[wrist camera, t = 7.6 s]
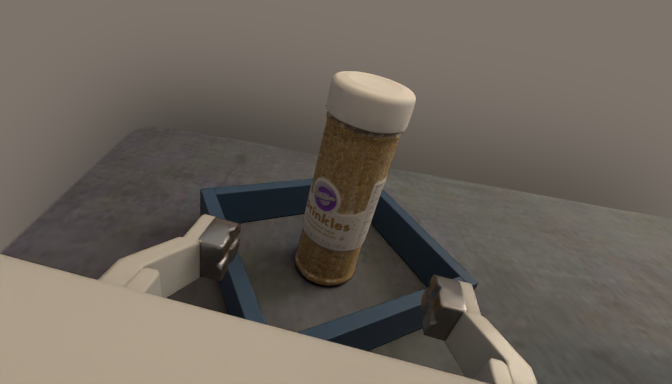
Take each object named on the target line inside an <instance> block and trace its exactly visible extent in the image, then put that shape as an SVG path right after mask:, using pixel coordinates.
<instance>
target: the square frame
mask: <svg viewBox="0 0 672 384" xmlns="http://www.w3.org/2000/svg"><path fill="white" fill-rule="evenodd" d="M312 182H313V179H305V180H293V181H282V182H271V183H260V184H249V185H238V186H226V187H215V188H205V189H201V190H200V217H201V216H202V215H204V214H207V215H210V216H214V217H218V218H222V219H225V220H229V221H232V222H236V223H242V222H248V221H255V220H262V219H269V218H276V217H283V216H289V215H296V214H303V213H305V210H306V205H307V201H308V197H309V192H310V188H311V184H312ZM371 223H372V224H373V225H374V226H375V227H376V229H377V230H378V231H379V232H380V233H381V234H382V235H383V237H384V238H385V239H386V240H387V241H388V242H389V243H390V245H391V246H392V247H393V248H394V249H395V250H396V251H397V253H398V254H399V255H400V256H401V257H402V258H403V259H404V261H405V262H406V263H407V264H408V265H409V266H410V267H411V269H412V270H413V271H414V272H415V273H416V274H417V275H418V277H419V278H420V279H421V280H422V281H423V282H424V283H425V285H426V286H427V287H430V279H431V278H432V276H433V275H437V276H441V277H445V278H449V279H453V280H457V281H462V282H466V283H470V284H471V285H472V287H473V290H474V289H475V288H476V286H477V285H478V282H477V281H476V280H475V279H474V278H473V277H472V276H471V275H470V274H469V273H468V272H467V271H466V270H465V269H464V268H463V267H462V266H461V265H460V264H459V263H458V262H457V261H456V260H455V259H454V258H453V257H452V256H451V255H450V254H449V253H448V252H447V251H445V250H444V249H443V248H442V247H441V246H440V245H439V244H438V243H437V242H436V241H435V240H434V239H433V238H432V237H431V236H430V235H429V234H428V233H427V232H426V231H425V230H424V229H423V228H422V227H421V226H420V225H419V224H418V223H417V222H416V221H415V220H414V219H413V218H412V217H411V216H410V215H409V214H408V213H407V212H406V211H404V210H403V209H402V208H401V207H400V206H399V205H398V204H397V203H396V202H395V201H394V200H393V199H392V198H391V197H390V196H389V195H388V194H387V193H386V192H385V191H384V190H383V189H382V192H381V195H380V198H379V200H378V203H377V206H376V209H375V212H374V215H373V218H372V221H371ZM219 283H220V287H221V290H222V293H223V296H224V300H225V303H226V306H227V309H228V313H229V315H231V316H235V317H239V318H243V319H247V320H250V321H254V322H258V323H262V324H266V322H265V319H264V316H263V314H262V311H261V309H260V306H259V304H258V301H257V299H256V296H255V293H254V291H253V288H252V286H251V283H250V281H249V278H248V276H247V273H246V270H245V268H244V265H243V263H242V260H241V258H240V255H239V253H238V251H237V254H236V256H235V258H234V260H233V262H231V263H228V270H227V272H226V273H225V275H224V277H223V278H222V280H221V281H219ZM425 289H426V288H425ZM425 289H422V290H419V291H416V292H413V293H411V294H408V295H405V296H402V297H399V298H396V299H393V300H390V301H387V302H384V303H382V304H379V305H376V306H373V307H370V308H367V309H364V310H361V311H358V312H355V313H353V314H350V315H347V316H344V317H341V318H338V319H335V320H332V321H329V322H327V323H324V324H321V325H318V326H315V327H312V328H309V329H306V330H303V331H300V332H298V333H300V334H304V335H307V336H311V337H315V338H319V339H323V340H326V341H330V342H334V343H338V344H342V345H345V346H349V347H353V348H357V349H360V350H364V351H368V350H371V349H373V348H376V347H378V346H380V345H383V344H385V343H387V342H390V341H392V340H394V339H397V338H399V337H401V336H404V335H406V334H408V333H411V332H413V331H415V330H418V329H420V328H422V327H423V321H422V320H423V319H424V317H425V315H424V314H423V313H422V311H421V300H422V296H423V293H424V291H425ZM266 325H267V324H266Z"/></svg>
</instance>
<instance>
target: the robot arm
mask: <svg viewBox="0 0 672 384" xmlns="http://www.w3.org/2000/svg"><path fill="white" fill-rule="evenodd" d="M240 226H241V225H240V224H239V223H236V222H232V221H229V220H225V219H222V218H218V217H214V216H210V215H207V214H204V215H202V216H201V217H200V218H199V219H198V220H197V221H196V223H195V224H194V225H193V226H192V227H191V228H190V230H189V231H188V232H187V233H186V234H185V235H184V237H183V238H182V237H177V238H175V239H172V240H169V241H167V242H164V243H161V244H158V245H156V246H153V247H150V248H148V249H145V250H142V251H140V252H137V253H134V254H131V255H129V256H126V257H123V258H121V259H119V260H118V261H117V262H116V263H115V264H114V265H113V266H112V267H111V268H110V269H109V270H107V271H106V272H105V273H104V274H103V275H102V276H101V277H100V278H99V279H98V280H95V279H91V278H88V277H84V276H80V275H76V274H72V273H69V272H65V271H61V270H57V269H54V268H50V267H46V266H42V265H38V264H35V263H31V262H27V261H23V260H20V259H16V258H13V257H9V256H6V255H2V254H0V384H537V381H536V379H535V376H534V374H533V371H532V368H531V367H530V366H529V365H528V364H527V363H526V362H525V360H524V359H523V358H522V357H521V356H520V355H519V354H518V353H517V352H516V351H515V350H514V348H513V347H512V346H511V345H510V344H509V343H508V342H507V341H506V340H505V339H504V338H503V336H502V335H501V334H500V333H499V332H498V331H497V330H496V329H495V328H494V327H493V326H492V324H491V323H490V322H489V321H488V320H487V319H486V318H485V317H482V316H481V314H480V310H479V307H478V303H477V300H476V297H475V293H474V290H473V287H472V285H471V284H470V283H466V282H462V281H457V280H453V279H449V278H445V277H441V276H437V275H433V276H432V278H431V279H430V287H428V288H426V289H425V291H424V293H423V296H422V300H421V311H422V313H423V314H424V315H425V317H424V319H423V320H422V321H423V330H424V335H426V336H430V337H433V338H437V339H440V340H443V341H445V344H446V345H447V347H448V349H449V350H450V352H451V353H452V355H453V357H454V358H455V360H456V362H457V363H458V365H459V366H460V368H461V370H462V371H463V373H464V375H465V376H466V377H463V376H459V375H455V374H451V373H448V372H444V371H440V370H436V369H432V368H428V367H425V366H421V365H417V364H413V363H409V362H406V361H402V360H398V359H394V358H391V357H387V356H383V355H379V354H375V353H372V352H368V351H364V350H360V349H357V348H353V347H349V346H345V345H342V344H338V343H334V342H330V341H326V340H323V339H319V338H315V337H311V336H307V335H304V334H300V333H296V332H292V331H288V330H285V329H281V328H277V327H273V326H269V325H266V324H262V323H258V322H254V321H250V320H247V319H243V318H239V317H235V316H231V315H228V314H224V313H220V312H216V311H213V310H209V309H205V308H201V307H197V306H194V305H190V304H186V303H182V302H178V301H175V300H171V299H167V297H169V296H170V295H172V294H174V293H175V292H177V291H179V290H180V289H182V288H183V287H185V286H187V285H188V284H190V283H192V282H193V281H195V280H197V279H198V278H200V277H205V278H209V279H213V280H217V281H221V280H222V278H223V277H224V275H225V273H226V272H227V270H228V263H231V262H233V260H234V258H235V256H236V254H237V251H238V247H239V241H240V240H239V238H238V234H239V233H240Z"/></svg>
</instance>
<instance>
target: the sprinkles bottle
mask: <svg viewBox="0 0 672 384" xmlns="http://www.w3.org/2000/svg"><path fill="white" fill-rule="evenodd" d="M415 101H416V97H415V95H414V93H413V92H412V91H411V90H410V89H408V88H407V87H405V86H403V85H401V84H399V83H397V82H395V81H392V80H390V79H387V78H384V77H380V76H377V75H373V74H368V73H363V72H355V71H343V72H339V73H336V74H335V75H334V77H333V79H332V82H331V86H330V90H329V95H328V99H327V104H326V106H327V110H328V111H327V122H326V126H325V130H324V133H323V139H322V142H321V147H320V152H319V156H318V160H317V164H316V169H315V174H314V178H313V182H312V184H311V188H310V192H309V197H308V201H307V205H306V210H305V215H304V220H303V230H302V234H301V238H300V243H299V247H298V248H297V252H296V254H295V263H296V266H297V267H298V269H299V271H300V272H301V274H302V275H303V276H305V277H306V278H307V279H308V280H310V281H312V282H314V283H316V284H319V285H325V286H333V285H339V284H342V283H344V282H346V281H347V280H349V279H350V278H351V277H352V275H353V273H354V271H355V268H356V261H357V258H358V255H359V252H360V250H361V246H362V244H363V242H364V240H365V238H366V235H367V232H368V229H369V226H370V224H371V221H372V218H373V215H374V212H375V209H376V206H377V203H378V200H379V198H380V195H381V192H382V189H383V186H384V184H385V181H386V178H387V172H388V169H389V166H390V163H391V161H392V159H393V155H394V152H395V149H396V147H397V144H398V140H399V138H400V137H401V135H402V133H403V131H404V130H405V129H406V128H407V125H408V123H409V120H410V117H411V114H412V111H413V108H414V105H415Z"/></svg>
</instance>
